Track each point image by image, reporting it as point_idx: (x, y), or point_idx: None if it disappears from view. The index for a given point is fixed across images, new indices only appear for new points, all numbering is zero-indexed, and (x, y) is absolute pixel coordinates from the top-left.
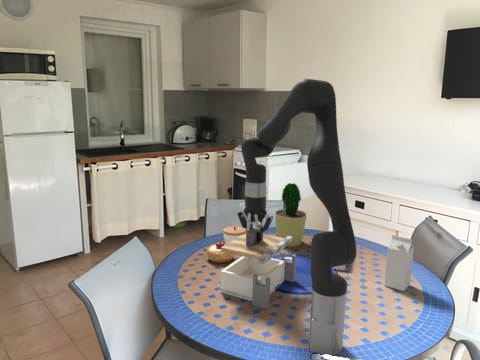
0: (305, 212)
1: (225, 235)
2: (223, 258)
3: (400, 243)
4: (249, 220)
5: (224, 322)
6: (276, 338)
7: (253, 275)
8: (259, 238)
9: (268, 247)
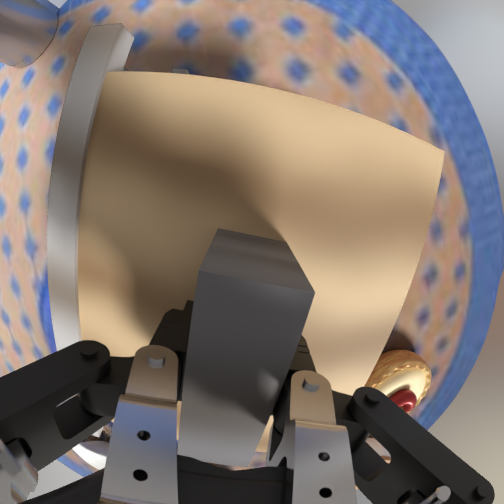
0: None
1: (386, 452)
2: (381, 362)
3: None
4: (311, 477)
5: (261, 4)
6: (118, 2)
7: (184, 72)
8: (173, 322)
9: (104, 260)
